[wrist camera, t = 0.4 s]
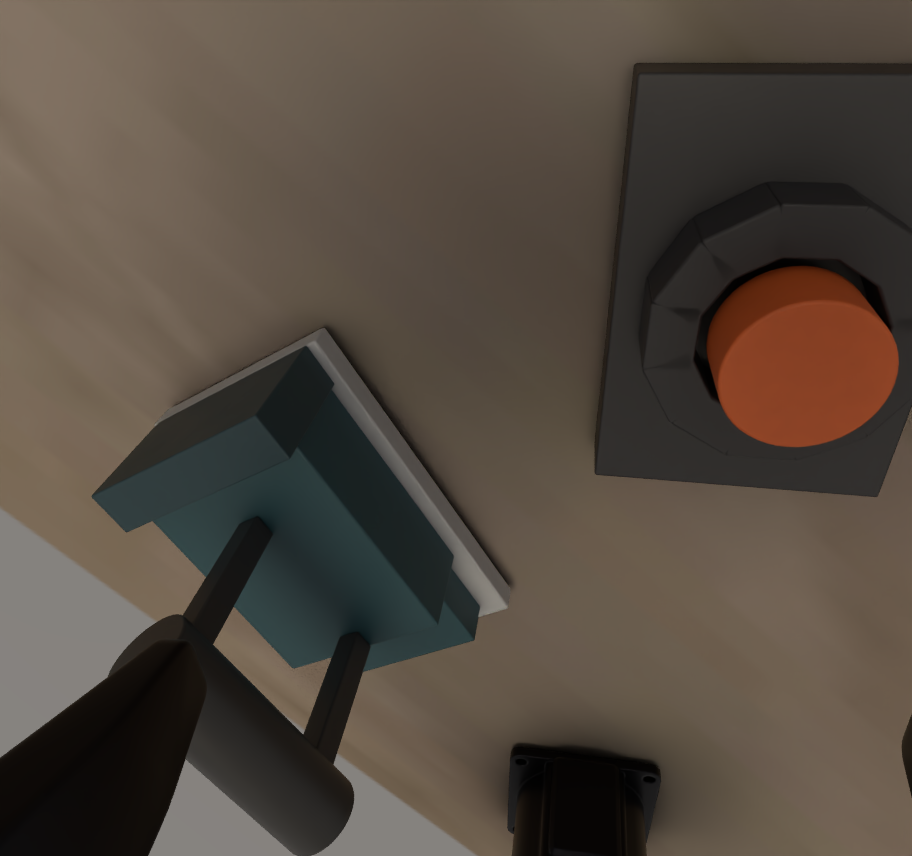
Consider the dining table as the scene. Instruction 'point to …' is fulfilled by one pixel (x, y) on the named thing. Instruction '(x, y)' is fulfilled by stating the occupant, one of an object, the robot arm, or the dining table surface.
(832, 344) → the power button
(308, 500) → the iron
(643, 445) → the switch block
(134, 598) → the dining table surface
